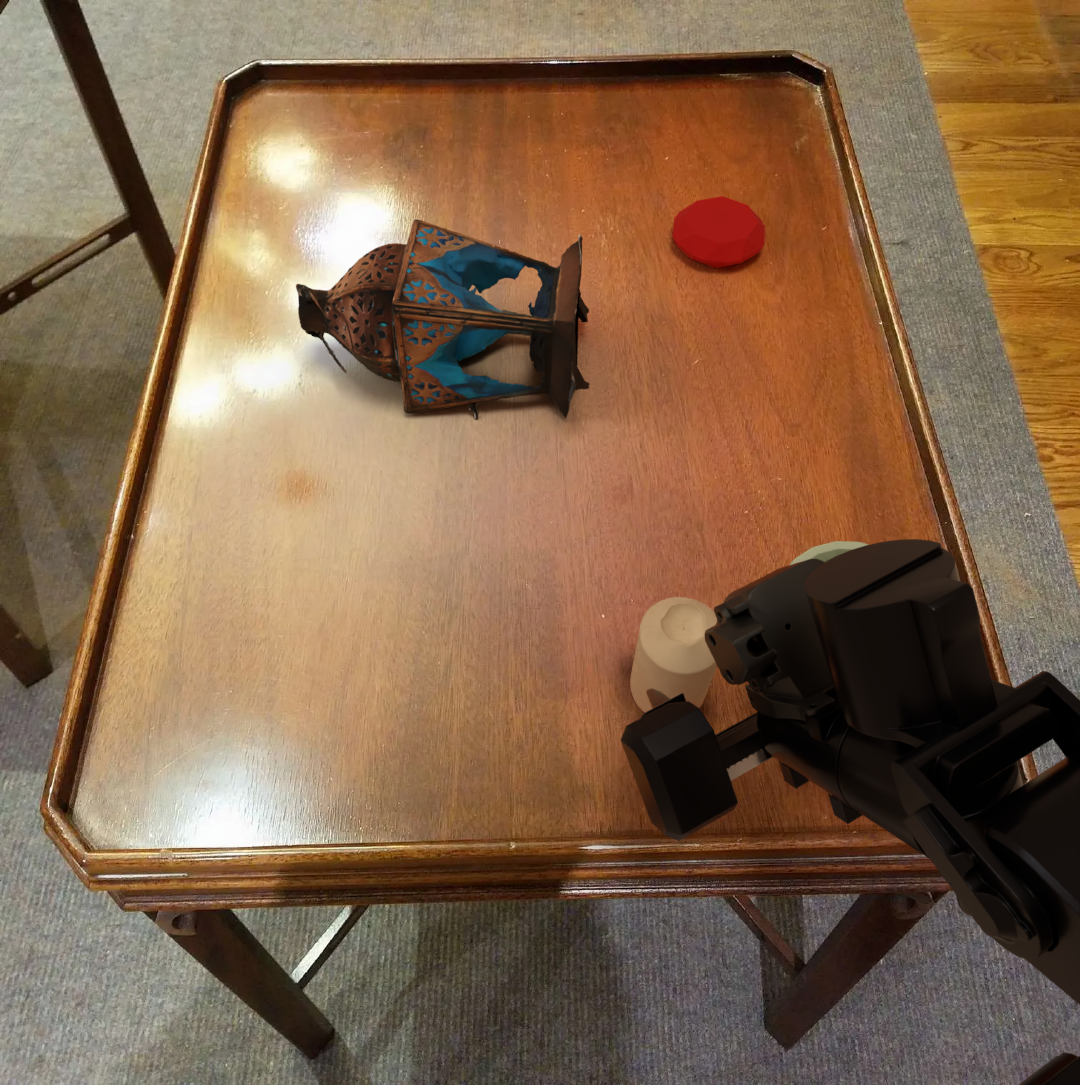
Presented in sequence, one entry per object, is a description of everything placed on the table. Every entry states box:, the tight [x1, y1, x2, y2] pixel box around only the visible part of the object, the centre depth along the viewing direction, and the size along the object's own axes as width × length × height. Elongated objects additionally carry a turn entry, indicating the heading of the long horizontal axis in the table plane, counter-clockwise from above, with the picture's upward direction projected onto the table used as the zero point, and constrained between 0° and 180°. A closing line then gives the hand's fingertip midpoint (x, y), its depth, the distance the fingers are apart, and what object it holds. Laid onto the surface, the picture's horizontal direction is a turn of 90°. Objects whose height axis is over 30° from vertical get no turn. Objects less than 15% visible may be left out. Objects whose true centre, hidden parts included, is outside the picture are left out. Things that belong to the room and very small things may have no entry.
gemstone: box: [671, 195, 766, 269], centre depth 90 cm, size 9×9×3 cm
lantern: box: [295, 218, 590, 420], centre depth 78 cm, size 16×16×25 cm
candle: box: [629, 596, 718, 714], centre depth 62 cm, size 6×6×10 cm
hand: (714, 663), depth 56 cm, fingers open, 9 cm apart
